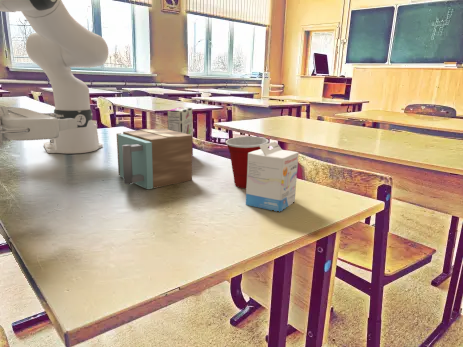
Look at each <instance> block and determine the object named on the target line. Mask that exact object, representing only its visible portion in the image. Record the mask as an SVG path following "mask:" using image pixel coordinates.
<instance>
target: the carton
mask: <svg viewBox="0 0 463 347" xmlns="http://www.w3.org/2000/svg"><path fill="white" fill-rule="evenodd" d="M122 134H125V135H129V136H132V137H135V138H139V139H142V140H146V141H149V142H152V168H153V188H152V189H156V188H161V187H166V186H170V185H174V184H179V183H184V182H188V181H192V180H193V155H192V135H189V134H185V133H180V132H176V131H172V130H168V128H151V129H149V128H143V129H138V130H129V131H122Z"/></svg>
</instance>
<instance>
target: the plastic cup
mask: <svg viewBox="0 0 463 347" xmlns="http://www.w3.org/2000/svg"><path fill="white" fill-rule="evenodd" d="M268 143H270V142H269V139H268V138H266V137H262V136H252V135H251V136H249V135H247V136H236V137H232V138H228V139H227V140H225V144H226V146H227V147H228V151H229V155H230V162H231V163H230V164H231V168H232V175H233V182H234V186H236V187H237V188H241V189H246V187H247V166H248V153H249V152H252V151H256V150H259V149H261V148H260V145H264V144H268Z"/></svg>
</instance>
